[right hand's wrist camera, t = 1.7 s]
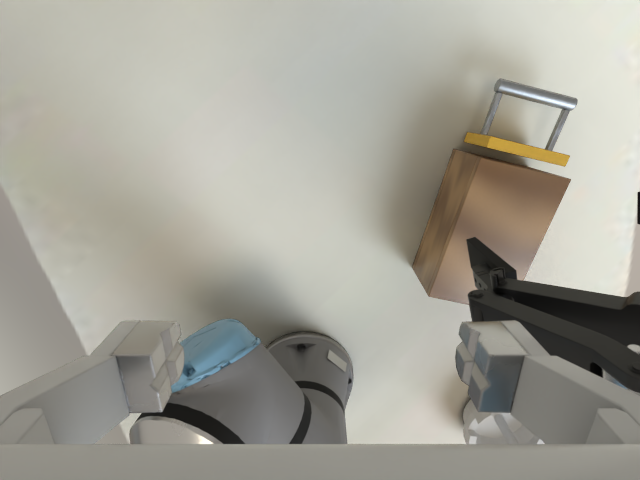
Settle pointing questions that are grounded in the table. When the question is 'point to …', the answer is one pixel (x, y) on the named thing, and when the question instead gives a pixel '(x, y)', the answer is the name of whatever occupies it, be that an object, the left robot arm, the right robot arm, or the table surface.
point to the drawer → (518, 148)
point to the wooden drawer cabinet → (484, 220)
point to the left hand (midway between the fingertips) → (555, 230)
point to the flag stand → (495, 428)
